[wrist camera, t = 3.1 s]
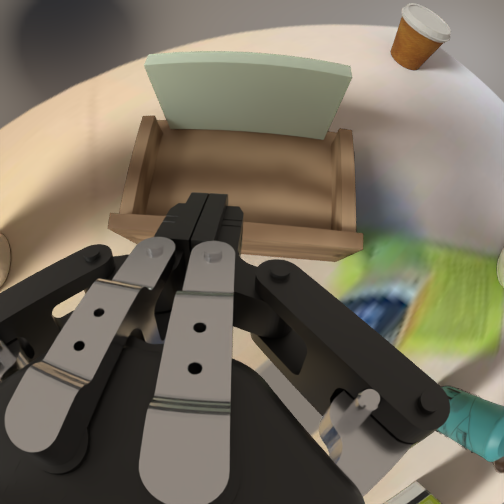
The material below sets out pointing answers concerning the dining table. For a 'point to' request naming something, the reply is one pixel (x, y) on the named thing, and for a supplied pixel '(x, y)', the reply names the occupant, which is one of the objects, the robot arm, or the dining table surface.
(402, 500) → the tea box
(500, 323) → the dining table surface
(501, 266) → the lidded jar
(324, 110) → the panel
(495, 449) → the beverage bottle
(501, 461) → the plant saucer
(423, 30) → the disposable coffee cup
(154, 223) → the drawer box
